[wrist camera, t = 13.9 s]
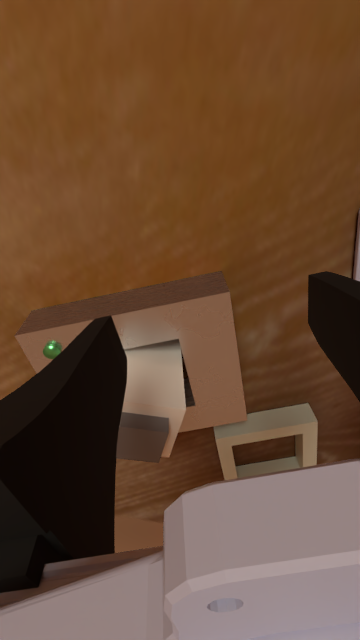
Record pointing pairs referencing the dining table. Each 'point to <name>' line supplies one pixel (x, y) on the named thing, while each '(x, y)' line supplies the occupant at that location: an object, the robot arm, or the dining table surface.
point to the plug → (152, 402)
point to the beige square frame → (269, 427)
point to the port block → (159, 338)
